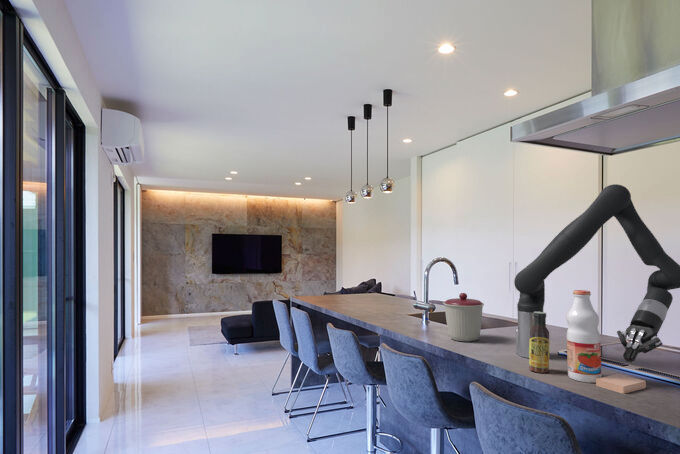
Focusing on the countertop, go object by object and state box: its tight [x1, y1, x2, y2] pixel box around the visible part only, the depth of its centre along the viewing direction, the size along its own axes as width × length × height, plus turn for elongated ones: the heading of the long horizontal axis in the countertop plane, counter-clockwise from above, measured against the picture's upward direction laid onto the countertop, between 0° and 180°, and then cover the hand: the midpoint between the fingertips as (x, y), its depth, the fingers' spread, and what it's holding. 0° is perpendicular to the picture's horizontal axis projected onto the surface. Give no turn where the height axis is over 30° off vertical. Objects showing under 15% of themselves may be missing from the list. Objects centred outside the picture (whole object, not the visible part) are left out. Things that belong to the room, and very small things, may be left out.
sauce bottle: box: [528, 311, 550, 374], centre depth 144 cm, size 7×6×20 cm
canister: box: [442, 292, 485, 343], centre depth 193 cm, size 18×18×21 cm
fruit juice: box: [566, 289, 602, 384], centre depth 136 cm, size 9×9×28 cm
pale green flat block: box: [595, 373, 647, 395], centre depth 128 cm, size 8×2×11 cm
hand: (627, 360), depth 130 cm, fingers closed
